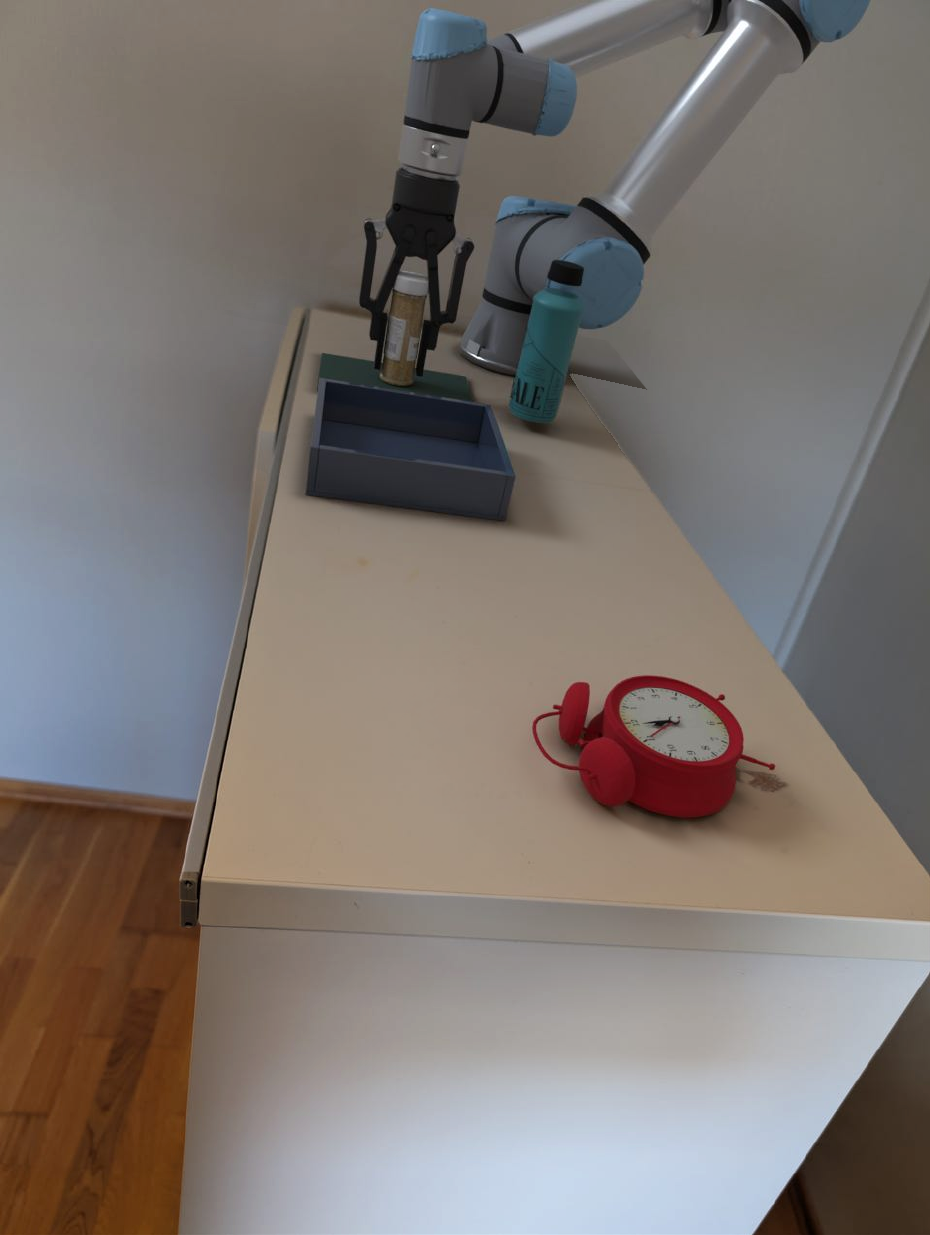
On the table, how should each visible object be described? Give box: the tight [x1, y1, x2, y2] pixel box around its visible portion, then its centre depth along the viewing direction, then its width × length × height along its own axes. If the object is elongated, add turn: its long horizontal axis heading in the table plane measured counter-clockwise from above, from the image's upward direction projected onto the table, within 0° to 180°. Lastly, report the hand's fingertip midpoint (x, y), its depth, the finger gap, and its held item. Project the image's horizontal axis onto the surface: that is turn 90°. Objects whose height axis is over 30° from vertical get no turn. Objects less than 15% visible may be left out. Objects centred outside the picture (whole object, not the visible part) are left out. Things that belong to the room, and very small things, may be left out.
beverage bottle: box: [507, 260, 584, 424], centre depth 105 cm, size 6×7×20 cm
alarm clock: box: [531, 674, 776, 818], centre depth 57 cm, size 10×6×15 cm
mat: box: [316, 352, 474, 402], centre depth 113 cm, size 20×14×1 cm
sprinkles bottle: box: [380, 270, 429, 386], centre depth 109 cm, size 5×5×13 cm
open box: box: [305, 377, 517, 522], centre depth 90 cm, size 20×20×5 cm
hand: (398, 369), depth 112 cm, fingers open, 5 cm apart
